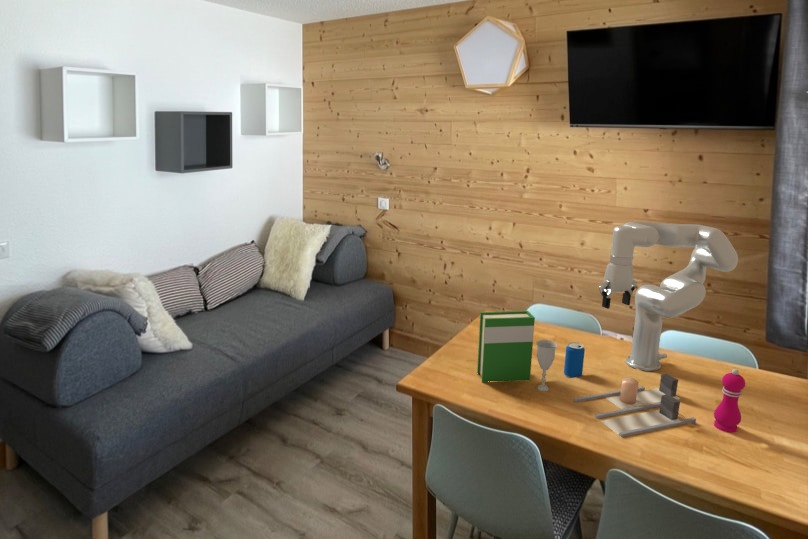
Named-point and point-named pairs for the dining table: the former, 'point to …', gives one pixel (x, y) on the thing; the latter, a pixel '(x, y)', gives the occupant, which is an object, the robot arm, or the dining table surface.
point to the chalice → (545, 359)
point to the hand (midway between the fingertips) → (615, 305)
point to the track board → (633, 409)
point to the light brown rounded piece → (629, 391)
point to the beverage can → (574, 360)
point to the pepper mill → (729, 403)
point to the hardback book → (505, 345)
